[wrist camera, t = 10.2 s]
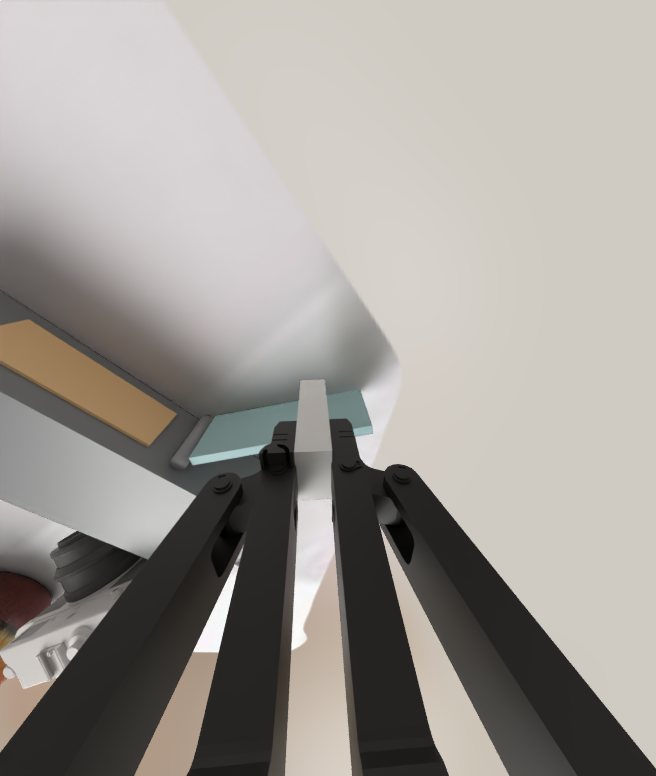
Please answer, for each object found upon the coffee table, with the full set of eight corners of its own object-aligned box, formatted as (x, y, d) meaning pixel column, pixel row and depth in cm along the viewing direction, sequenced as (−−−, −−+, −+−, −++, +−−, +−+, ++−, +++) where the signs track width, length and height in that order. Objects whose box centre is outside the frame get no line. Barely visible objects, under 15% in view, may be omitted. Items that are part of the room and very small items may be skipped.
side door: (359, 386, 20) (371, 422, 15) (361, 400, 20) (373, 438, 16) (198, 416, 20) (167, 459, 16) (204, 428, 21) (175, 473, 17)
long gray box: (-65, 361, 18) (-262, 415, 12) (-30, 267, 15) (-254, 275, 9) (241, 523, 27) (220, 601, 21) (295, 480, 24) (288, 554, 18)
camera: (239, 551, 27) (168, 664, 17) (113, 600, 29) (-20, 728, 18) (201, 471, 27) (106, 533, 16) (77, 524, 28) (-79, 612, 18)
